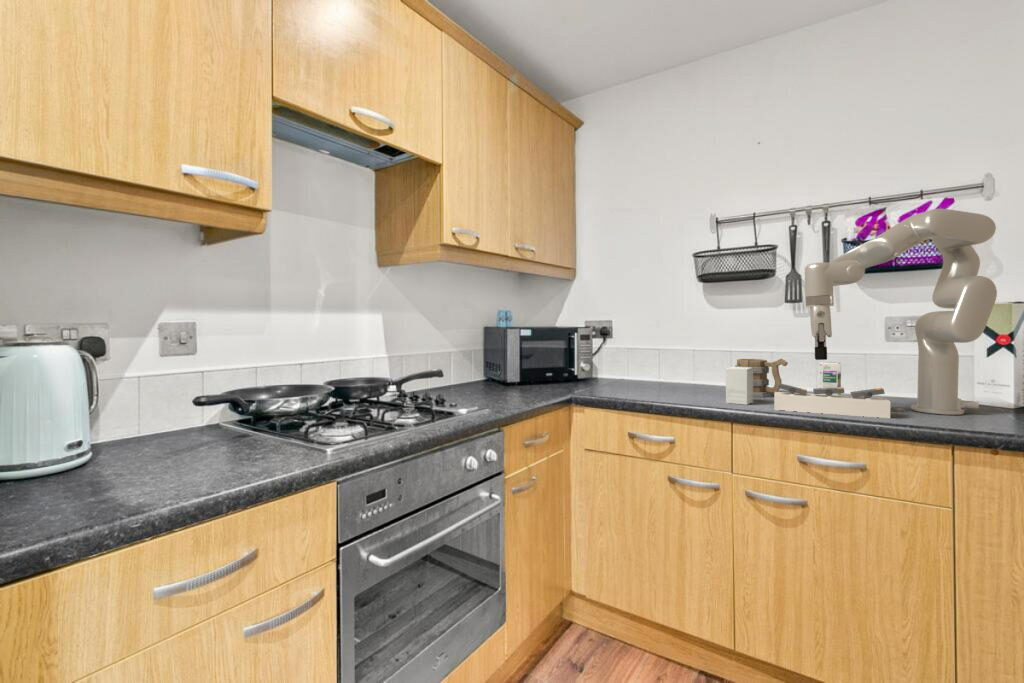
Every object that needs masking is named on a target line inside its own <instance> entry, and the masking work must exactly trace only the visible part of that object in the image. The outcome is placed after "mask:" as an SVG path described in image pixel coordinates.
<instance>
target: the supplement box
mask: <svg viewBox="0 0 1024 683" xmlns="http://www.w3.org/2000/svg"><path fill="white" fill-rule="evenodd" d="M725 403H726V404H734V405H745V406H748V405H750V403H751V404H753V403H754V397H753V368H749V367H735V366H730V367H726V368H725Z"/></svg>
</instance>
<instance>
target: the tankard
mask: <svg viewBox="0 0 1024 683" xmlns="http://www.w3.org/2000/svg"><path fill="white" fill-rule="evenodd" d="M780 365H782V366H783V367H786V366H788V361H786V360H785V359H783V358H780V359H777V360H775V361H771V362H770V361H769V362H768V360H766V359H762V358H761V359H760V358H738V359H736V364H735V366H734V367H749V368H753V398H768V397H771V396H772V393H775V392H780V389H779V388H778V386H779V383H781V384H782V382H783V381H782V378H781V375H780V372H779V371H780V370H779V366H780ZM770 367H771V373H772V377H773V379H774V385H773V387H771V386H769V385H770V380H769V378H768V374H769V373H770Z"/></svg>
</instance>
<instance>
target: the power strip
mask: <svg viewBox="0 0 1024 683" xmlns="http://www.w3.org/2000/svg"><path fill="white" fill-rule="evenodd" d="M773 394H774V399H773V400H774V402H773V405H774V408H773V410H774V411H779V410H785V411H784V412H793V411H797V412H796V413H807V412H810V413H811V414H821V413H823V414H822V415H835V414H836V416H840V415H841V416H849V417H850V416H853V417H863V416H864V417H863V418H877V417H879V419H891V413H906V409H905V408H900V407H899V408H898V407H891V401H890V400H889V399H887V398H886V397H874V396H872V397H871V398H866V397H865V396H864V397H857V398H853V397H852V396H851V395H842V394H841V395H831V396H827V395H824V394H814V393H806V395H803V394H799V393H794V394H791V393H789V392H788V391H787V392H786V391H785V392H784V391H783V392H780V391H778V392H774V393H773Z"/></svg>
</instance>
